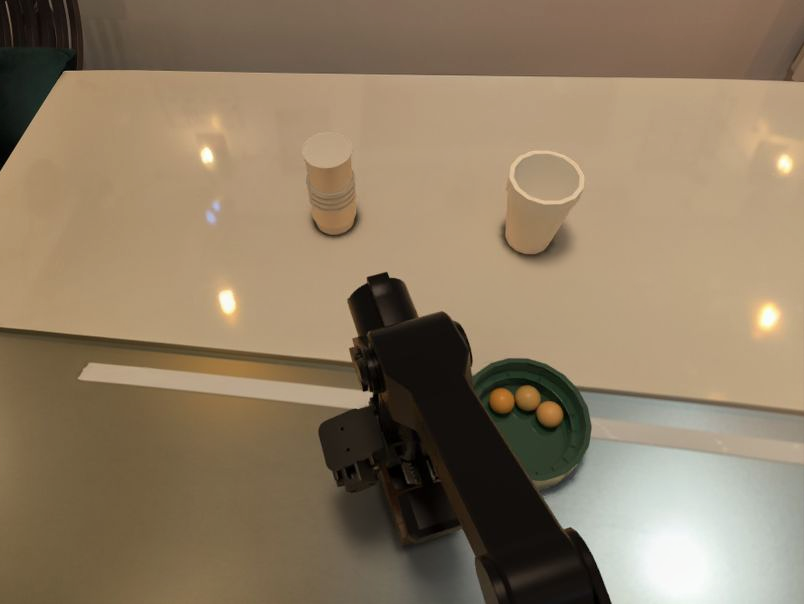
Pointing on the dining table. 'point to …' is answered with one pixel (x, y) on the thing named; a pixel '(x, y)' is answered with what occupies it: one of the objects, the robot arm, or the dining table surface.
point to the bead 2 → (527, 398)
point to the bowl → (530, 440)
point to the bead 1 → (501, 400)
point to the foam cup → (540, 198)
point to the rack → (395, 504)
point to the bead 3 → (549, 414)
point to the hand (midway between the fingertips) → (406, 458)
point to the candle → (330, 181)
